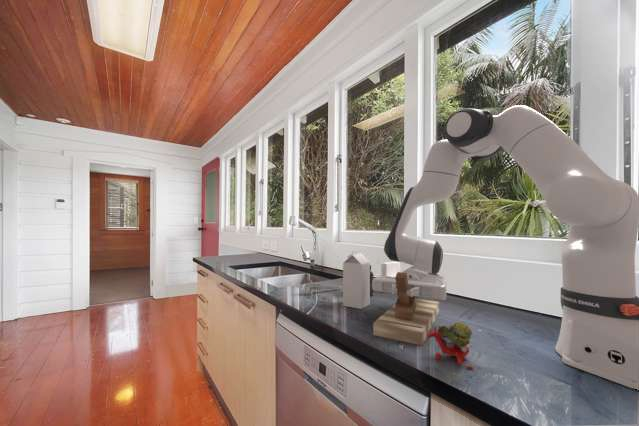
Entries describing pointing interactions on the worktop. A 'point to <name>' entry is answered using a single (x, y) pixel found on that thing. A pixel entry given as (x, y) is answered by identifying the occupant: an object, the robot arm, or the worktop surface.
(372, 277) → the supplement bottle
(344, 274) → the milk carton
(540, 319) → the worktop surface
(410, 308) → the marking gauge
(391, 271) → the cylinder with rectangular tab
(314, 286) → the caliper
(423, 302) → the slatted pale wooden block
